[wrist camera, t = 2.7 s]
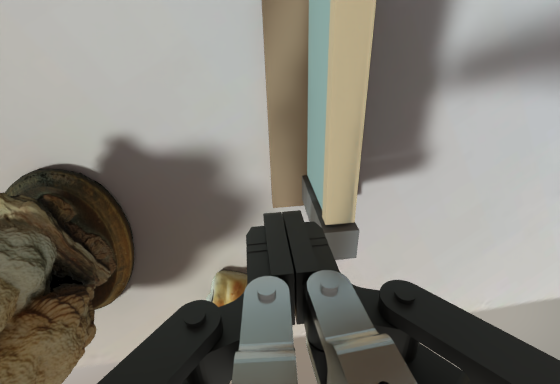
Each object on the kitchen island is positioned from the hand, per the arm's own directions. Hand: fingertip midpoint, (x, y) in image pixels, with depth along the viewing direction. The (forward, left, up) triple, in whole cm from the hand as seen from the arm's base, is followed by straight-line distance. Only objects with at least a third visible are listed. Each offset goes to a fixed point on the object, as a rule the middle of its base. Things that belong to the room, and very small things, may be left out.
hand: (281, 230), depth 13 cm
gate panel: (-5, -2, -15) cm, 15 cm away
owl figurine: (+19, +11, -16) cm, 28 cm away
